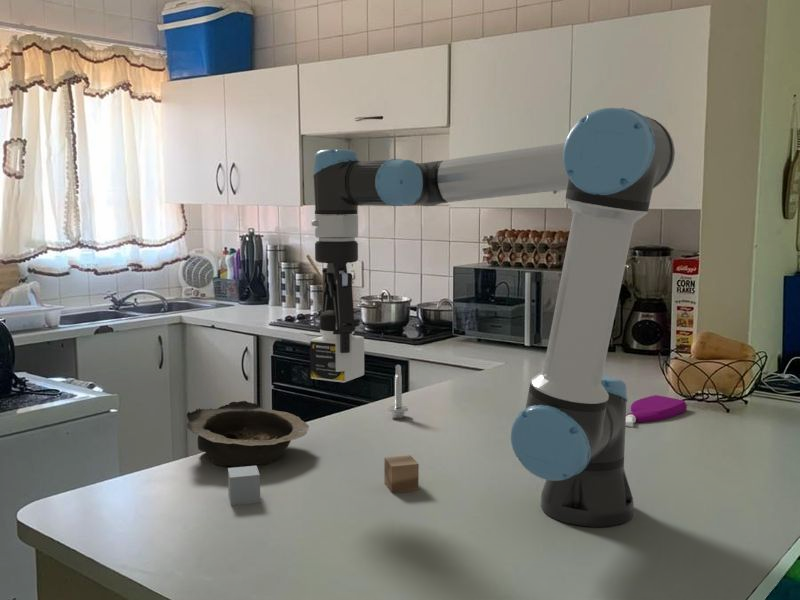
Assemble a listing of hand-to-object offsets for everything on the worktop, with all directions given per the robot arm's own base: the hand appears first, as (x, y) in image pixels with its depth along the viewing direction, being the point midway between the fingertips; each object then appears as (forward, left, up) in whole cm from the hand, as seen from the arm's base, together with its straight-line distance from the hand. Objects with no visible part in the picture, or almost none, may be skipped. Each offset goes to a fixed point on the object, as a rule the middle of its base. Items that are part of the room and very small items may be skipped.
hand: (337, 364), depth 140 cm
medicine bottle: (0, 0, -2) cm, 2 cm away
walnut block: (-3, -11, -23) cm, 25 cm away
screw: (+43, -23, -23) cm, 54 cm away
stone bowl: (+23, +14, -23) cm, 35 cm away
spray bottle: (+27, -82, -23) cm, 89 cm away
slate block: (-1, +17, -23) cm, 28 cm away
